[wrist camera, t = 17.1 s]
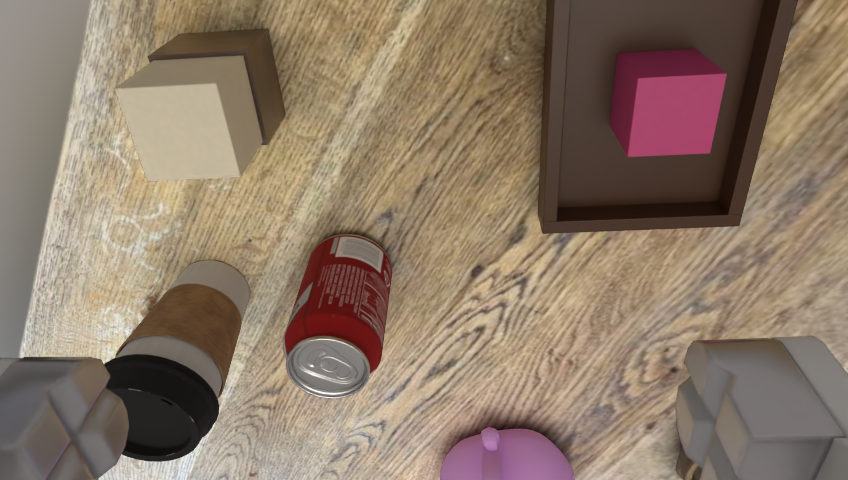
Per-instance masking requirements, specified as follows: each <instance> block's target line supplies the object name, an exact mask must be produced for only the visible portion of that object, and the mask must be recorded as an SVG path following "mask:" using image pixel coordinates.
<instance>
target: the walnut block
mask: <svg viewBox="0 0 848 480" xmlns="http://www.w3.org/2000/svg"><path fill="white" fill-rule="evenodd" d="M239 55H242V56H243V57H244V61H245V65H246V70H247V74H248V78H249V83H250V87H251V91H252V96H253V100H254V104H255V109H256V113H257V117H258V122H259V126H260V131H261V135H262V139H263V142H262V144H261V145H268V144H269V142H270V140H271V139H272V137H273V135H274V134H275V132H276V130H277V129H278V127H279V125H280V124H281V122H282V120H283V119H284V117H285V111H284V106H283V101H282V96H281V91H280V86H279V81H278V76H277V71H276V66H275V61H274V56H273V51H272V46H271V41H270V36H269V31H268V29H255V30H238V31H222V32H205V33H189V34H179V35H177V36H176V37H174V38H173V39H172V40H170V41H169V42H167V43H166V44H165V45H163V46H162V47H160V48H159V49H157V50H156V51H155V52H153V53H152V54H150V55H149V56H148V59H149V62H150V63H151V62H152V61H154V60H170V59H188V58H205V57H222V56H239Z"/></svg>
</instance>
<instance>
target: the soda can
mask: <svg viewBox="0 0 848 480" xmlns="http://www.w3.org/2000/svg"><path fill="white" fill-rule="evenodd" d="M391 278H392V265H391V261H390V259H389V257H388V255H387V254H386V252H385V251H384V250H383V249H382V248H381V247H380V246H379V245H378V244H377V243H375V242H374V241H372V240H370V239H368V238H366V237H363V236H359V235H354V234H340V235H335V236H332V237H329V238H327V239H325V240H323V241H322V242H320V243H319V244H318V245H317V246H316V247H315V249H314V250H313V252H312V254H311V256H310V259H309V262H308V265H307V268H306V271H305V274H304V277H303V280H302V283H301V286H300V289H299V292H298V295H297V298H296V301H295V304H294V307H293V311H292V314H291V317H290V320H289V323H288V326H287V329H286V332H285V335H284V338H283V352H284V355H285V358H286V360H287V361H286V369H287V373H288V375H289V377H290V379H291V380H292V382H293V383H294V384H295V385H296V386H297V387H299V388H300V389H301V390H303V391H305V392H307V393H309V394H311V395H314V396H317V397H321V398H328V399H338V398H344V397H348V396H351V395H353V394H355V393H357V392H359V391H360V390H361V389H362V388H363V387H364V386H365V385H366V383H367V381H368V379H369V376H370V375H372V374H373V372H374V371H375V370H376V369H377V367H378V365H379V363H380V361H381V356H382V349H383V341H384V333H385V325H386V317H387V309H388V301H389V293H390V285H391Z"/></svg>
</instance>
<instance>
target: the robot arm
mask: <svg viewBox="0 0 848 480" xmlns="http://www.w3.org/2000/svg"><path fill="white" fill-rule="evenodd" d="M684 363H685V365H686V367H687V370H688V372H689V374H690V377H689V378H688V379H686V380H685V381H684V382H683V383H682V384H681V385H679V387H678V392H677V398H676V403H675V407H676V424H677V428H678V433H679V437H680V440H681V443H682V446H683V448H684V451H685V454H686V456H687V457H688V458H690V459H691V460H692V461H693V462H695V463H696V464H697V465H698V466H700V467H701V468H702V473H701V477H700V480H848V373H847V372H846V371H845V370H844V368H843V367H842V366H841V364H840V363H839V362H838V360H837V359H836V358H835V357H834V355H833V354H832V353H831V351H830V350H829V349H828V348H827V346H826V345H825V344H824V343H823V342H822V341H821V340H819V339H818V338H816V337H814V336H799V337H774V338H771V339H769V338H755V339H727V340H698V341H693V342H692V343H691V345H690V346H689V347H688V349H687V353H686V357H685V361H684ZM109 379H110V375H109V373H108V371H107V369H106V367H105V366H104V364H103V362H102V360H101V359H96V358H92V357H24V358H0V480H98V478H99V477H101V476H102V475H103V474H104V473H106V472H107V471H108V470H109V469H111V468H112V467H113V466H115V465H116V464H117V462H118V460H119V458H120V456H121V454H122V452H123V450H124V448H125V445H126V440H127V434H128V429H129V421H128V414H127V410H126V407H125V405H124V403H123V401H122V399H121V398H120V397H119V396H117V395H116V394H114V393H113V392H111V391H110V390H108V389H107V388H106V385H107V383H108V381H109Z"/></svg>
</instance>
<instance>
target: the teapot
mask: <svg viewBox="0 0 848 480" xmlns="http://www.w3.org/2000/svg"><path fill="white" fill-rule="evenodd" d="M440 480H575V478H574V473H573V471H572V468H571V466H570V464H569V462H568V461H567V459H566V457H565V456H564V455H563V453H562V452H561V451H560V450H559V449H558V448H557V447H556V446H555V445H554V444H553V443H552V442H551V441H550V440H549V439H547V438H546V437H545V436H543V435H542V434H540V433H538V432H536V431H533V430H529V429H507V430H498V431H497V430H496V429H495V428H491V427H487V428H485V429H483V430H482V431H481V434H478V435H474V436H471V437H468V438H465V439H463V440H461V441H460V442H458V443H457V444H456V445H455V446H454V447H453V448H452V449H451V450H450V452H449V453H448V454H447V456H446V457H445V459H444V461H443V464H442V467H441V471H440Z"/></svg>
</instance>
